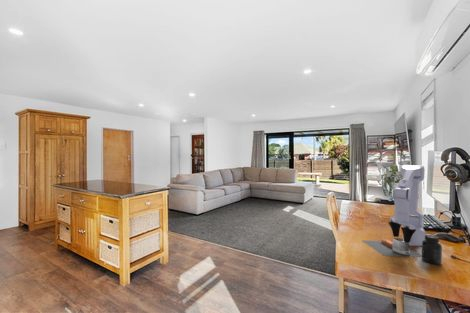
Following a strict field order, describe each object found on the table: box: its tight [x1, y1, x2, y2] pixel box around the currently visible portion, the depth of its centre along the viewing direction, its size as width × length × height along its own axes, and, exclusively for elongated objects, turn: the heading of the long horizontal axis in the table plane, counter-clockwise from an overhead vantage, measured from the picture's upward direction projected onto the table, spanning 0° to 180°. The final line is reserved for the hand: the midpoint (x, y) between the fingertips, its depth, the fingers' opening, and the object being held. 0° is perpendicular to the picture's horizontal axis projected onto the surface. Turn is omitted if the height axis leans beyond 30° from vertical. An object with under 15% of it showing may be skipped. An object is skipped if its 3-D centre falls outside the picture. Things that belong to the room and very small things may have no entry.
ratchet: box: [380, 238, 410, 257], centre depth 114 cm, size 7×17×4 cm, turn 177°
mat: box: [361, 239, 422, 258], centre depth 115 cm, size 20×20×1 cm
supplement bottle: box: [421, 234, 443, 266], centre depth 100 cm, size 7×7×12 cm
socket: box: [392, 237, 410, 251], centre depth 109 cm, size 5×5×5 cm
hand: (401, 239), depth 109 cm, fingers open, 7 cm apart
